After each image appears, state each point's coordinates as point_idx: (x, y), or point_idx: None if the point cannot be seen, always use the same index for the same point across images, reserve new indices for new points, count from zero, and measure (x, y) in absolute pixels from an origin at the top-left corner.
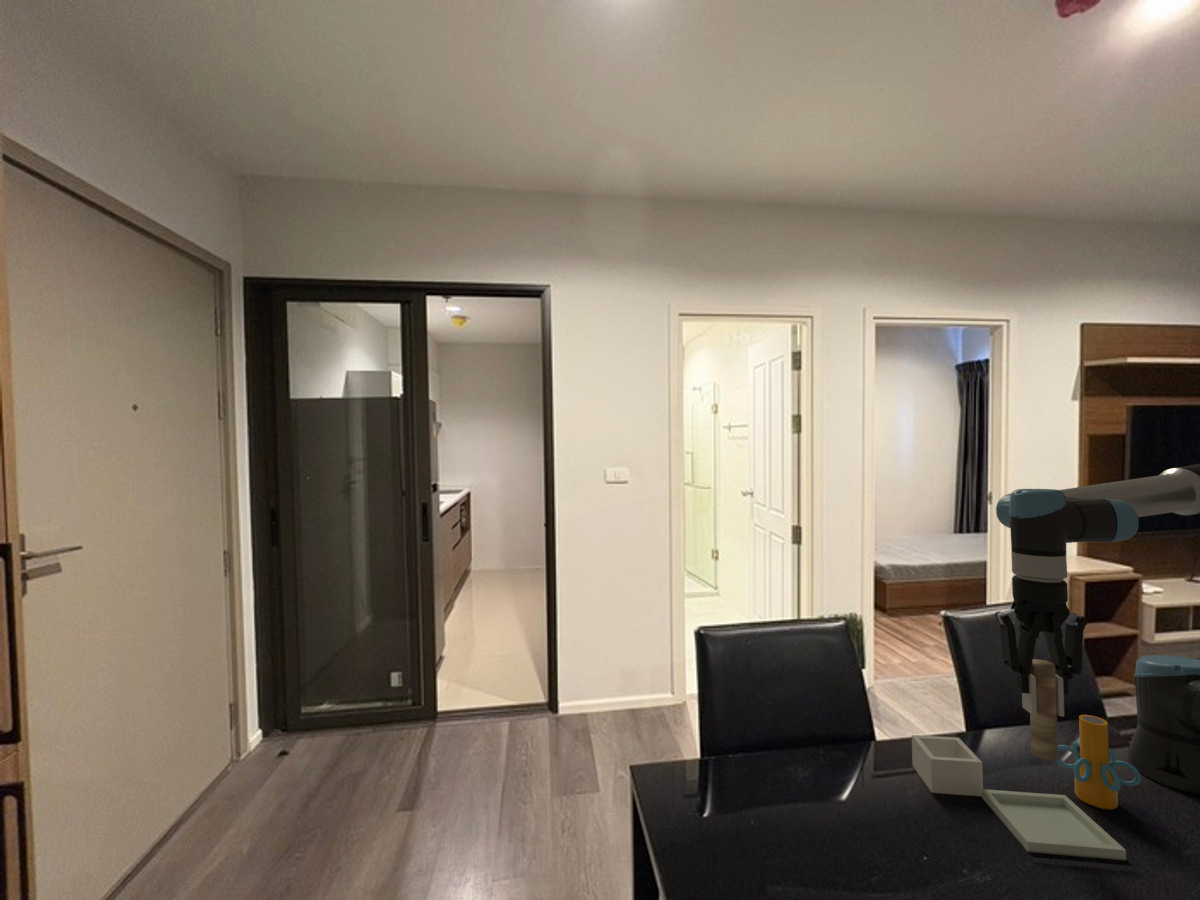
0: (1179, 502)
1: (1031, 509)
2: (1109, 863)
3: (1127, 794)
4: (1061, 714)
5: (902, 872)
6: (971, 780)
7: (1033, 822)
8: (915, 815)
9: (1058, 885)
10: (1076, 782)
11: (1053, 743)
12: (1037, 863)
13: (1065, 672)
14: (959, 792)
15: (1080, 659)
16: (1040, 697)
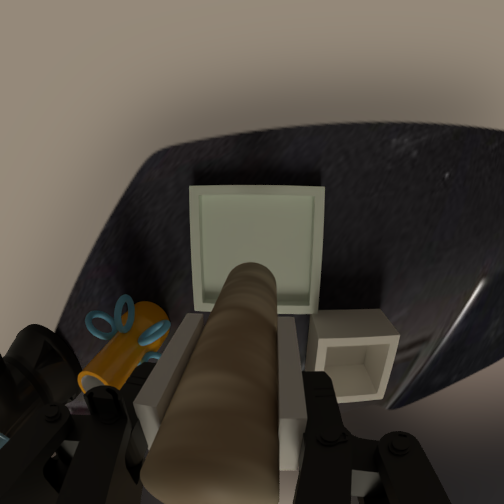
0: None
1: None
2: (215, 184)
3: (108, 332)
4: (194, 316)
5: (473, 151)
6: (331, 322)
7: (274, 253)
8: (423, 259)
9: (314, 132)
10: (163, 335)
11: (240, 276)
12: (317, 171)
13: (107, 423)
14: (345, 313)
15: (9, 447)
16: (262, 350)
